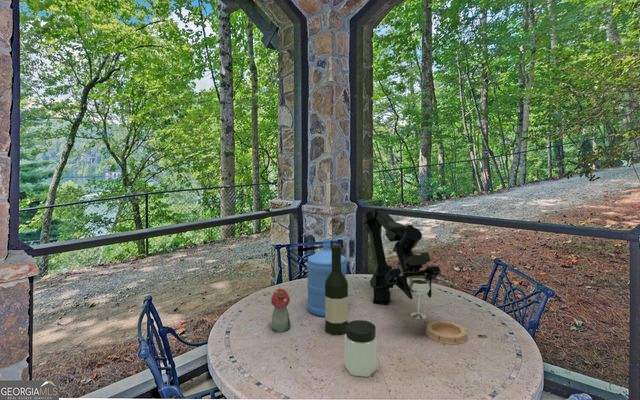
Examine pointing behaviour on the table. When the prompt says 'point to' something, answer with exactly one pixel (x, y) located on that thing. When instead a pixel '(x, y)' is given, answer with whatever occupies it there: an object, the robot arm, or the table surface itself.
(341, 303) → the wine bottle
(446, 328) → the coaster
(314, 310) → the water jug
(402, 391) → the table surface
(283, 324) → the decorative ornament
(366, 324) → the jar
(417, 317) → the wineglass
